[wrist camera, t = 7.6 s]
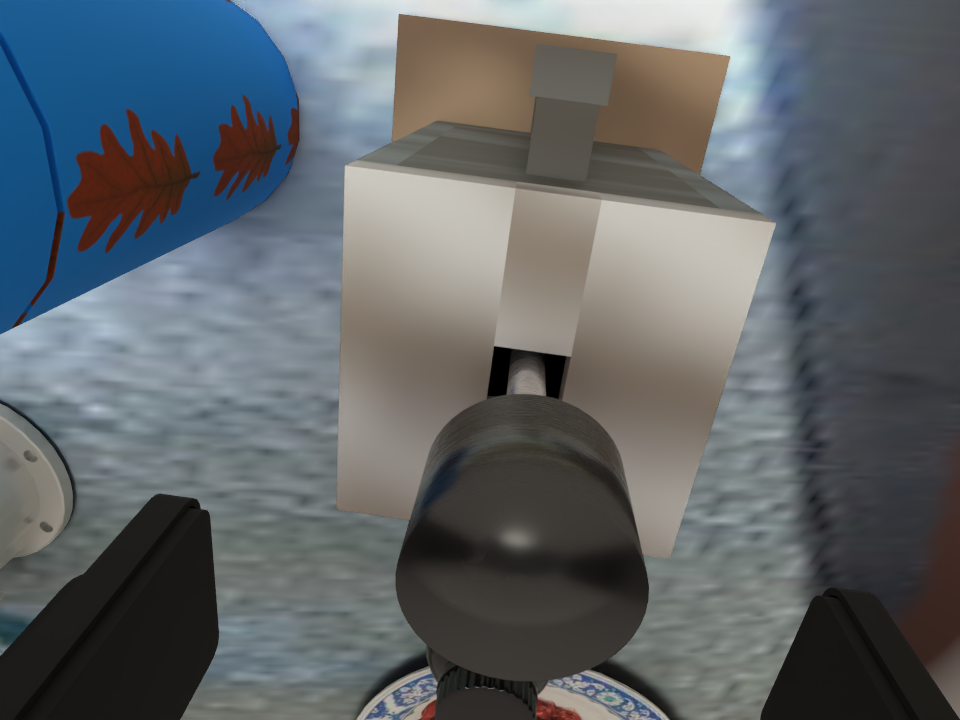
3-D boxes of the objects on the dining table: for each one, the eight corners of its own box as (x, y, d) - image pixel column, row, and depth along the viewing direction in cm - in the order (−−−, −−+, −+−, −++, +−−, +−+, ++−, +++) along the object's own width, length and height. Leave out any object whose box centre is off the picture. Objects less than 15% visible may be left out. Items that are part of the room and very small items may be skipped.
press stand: (631, 411, 35) (701, 663, 20) (384, 376, 36) (273, 598, 21) (720, 57, 28) (938, 39, 13) (405, 16, 28) (254, -48, 13)
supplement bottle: (576, 542, 39) (591, 722, 28) (509, 604, 42) (500, 791, 31) (487, 485, 38) (468, 650, 27) (425, 552, 41) (384, 728, 30)
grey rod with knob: (566, 301, 29) (618, 697, 11) (481, 289, 29) (388, 661, 11) (582, 216, 28) (677, 511, 9) (492, 204, 28) (404, 471, 9)
